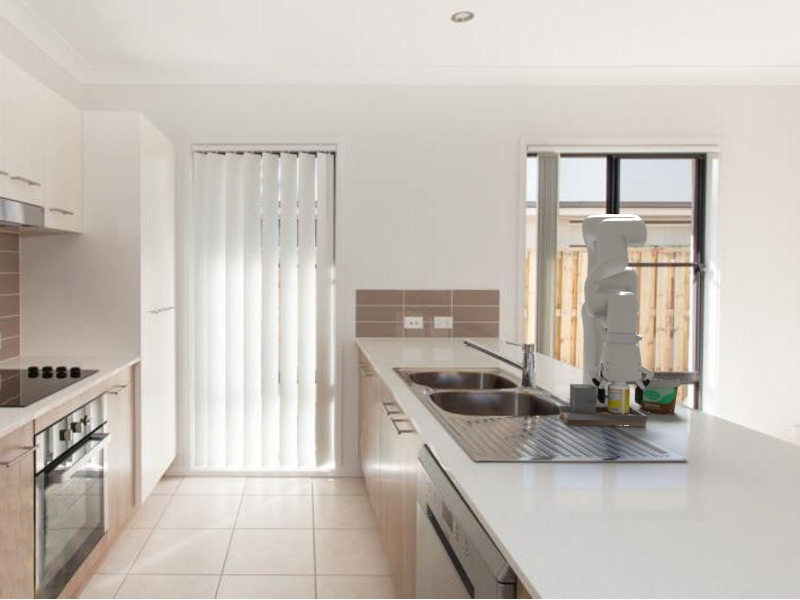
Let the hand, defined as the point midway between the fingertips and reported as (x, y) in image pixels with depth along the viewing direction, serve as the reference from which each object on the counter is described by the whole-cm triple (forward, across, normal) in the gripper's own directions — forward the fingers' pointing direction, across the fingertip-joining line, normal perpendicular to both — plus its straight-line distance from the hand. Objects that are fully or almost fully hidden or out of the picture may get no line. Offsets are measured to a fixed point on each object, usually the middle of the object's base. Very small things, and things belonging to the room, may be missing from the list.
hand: (619, 403), depth 161 cm
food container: (+5, -14, -13) cm, 20 cm away
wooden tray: (+5, +5, 0) cm, 7 cm away
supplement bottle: (+4, 0, 0) cm, 4 cm away
